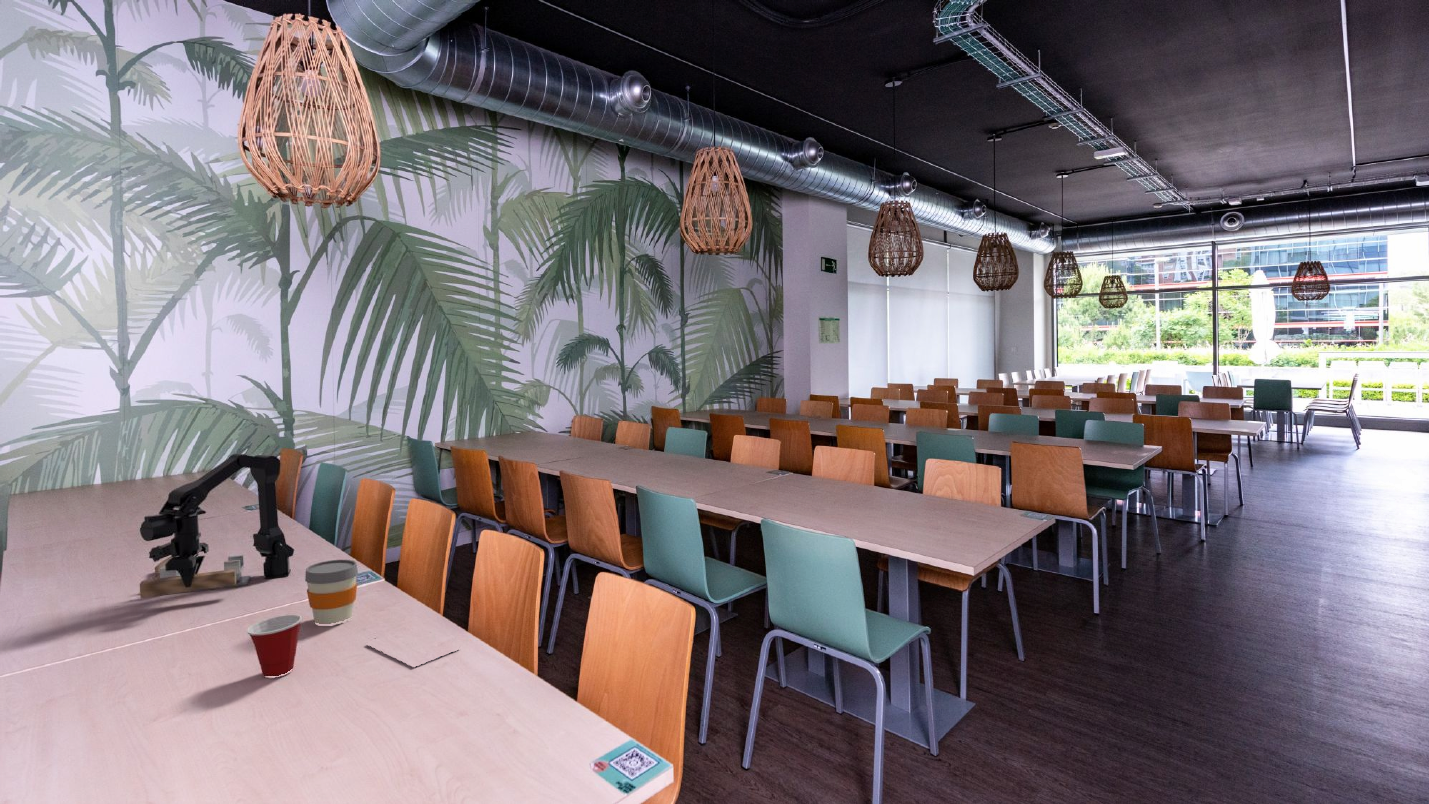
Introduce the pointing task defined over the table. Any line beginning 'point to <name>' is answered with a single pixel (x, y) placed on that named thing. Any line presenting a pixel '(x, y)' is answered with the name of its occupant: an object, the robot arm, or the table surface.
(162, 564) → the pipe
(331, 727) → the table surface
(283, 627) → the plastic cup
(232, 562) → the bracket stand
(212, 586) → the rail
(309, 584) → the reusable coffee cup
